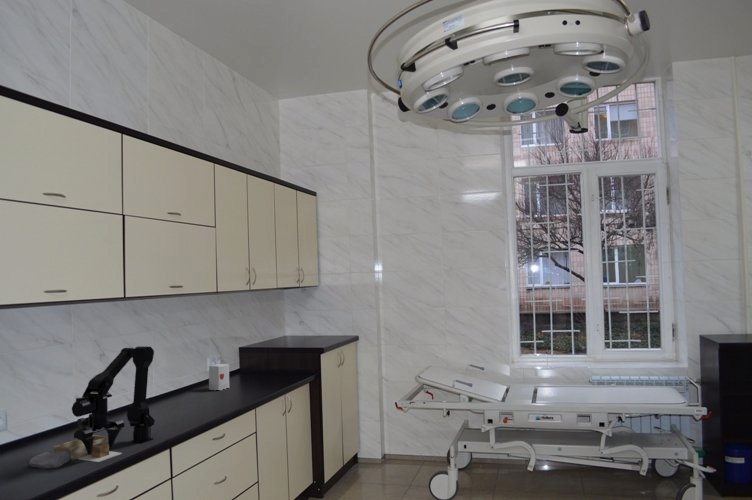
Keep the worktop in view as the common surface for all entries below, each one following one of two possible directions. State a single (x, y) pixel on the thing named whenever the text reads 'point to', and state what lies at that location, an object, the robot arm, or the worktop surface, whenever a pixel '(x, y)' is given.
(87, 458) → the grey mat
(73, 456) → the slot box
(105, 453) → the walnut block
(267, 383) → the worktop surface
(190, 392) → the worktop surface
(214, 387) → the supplement box
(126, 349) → the robot arm
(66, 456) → the stone block
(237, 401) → the worktop surface
